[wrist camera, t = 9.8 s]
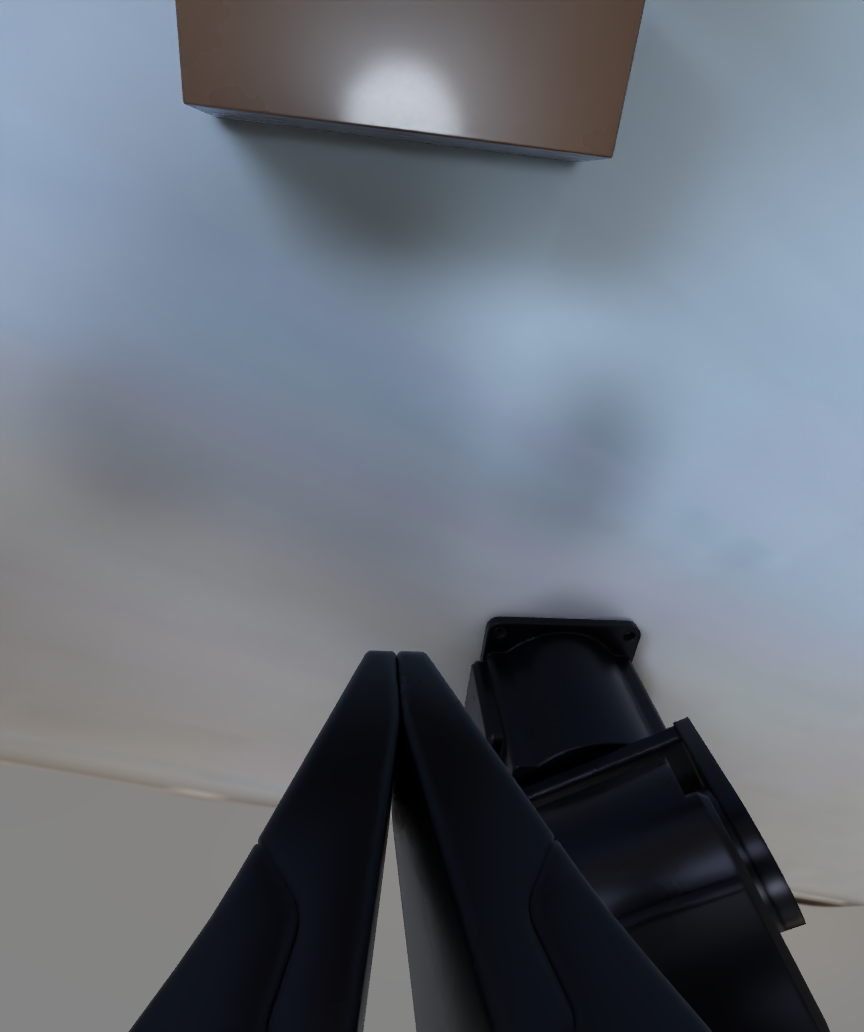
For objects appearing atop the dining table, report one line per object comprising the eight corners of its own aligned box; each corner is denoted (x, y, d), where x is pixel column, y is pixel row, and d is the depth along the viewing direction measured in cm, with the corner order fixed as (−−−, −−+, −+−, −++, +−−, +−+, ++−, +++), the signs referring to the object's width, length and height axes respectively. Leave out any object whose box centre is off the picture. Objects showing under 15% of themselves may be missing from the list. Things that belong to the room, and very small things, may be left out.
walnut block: (610, -20, 15) (658, -61, 13) (577, 162, 17) (613, 158, 15) (203, -86, 14) (163, -147, 12) (214, 117, 16) (182, 103, 13)
